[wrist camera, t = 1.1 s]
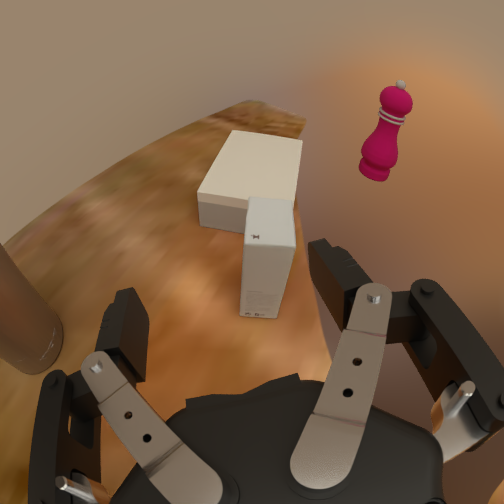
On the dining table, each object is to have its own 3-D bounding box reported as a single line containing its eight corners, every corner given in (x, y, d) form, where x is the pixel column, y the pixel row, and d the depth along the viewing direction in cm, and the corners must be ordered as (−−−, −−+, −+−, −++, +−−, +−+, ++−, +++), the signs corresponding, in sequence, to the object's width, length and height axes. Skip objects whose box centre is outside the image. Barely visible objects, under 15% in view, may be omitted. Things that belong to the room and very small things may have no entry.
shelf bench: (200, 225, 40) (197, 191, 36) (232, 158, 52) (232, 130, 47) (286, 241, 39) (293, 208, 35) (297, 169, 51) (302, 140, 46)
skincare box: (277, 319, 32) (297, 248, 23) (238, 317, 32) (242, 244, 23) (277, 275, 36) (293, 198, 27) (242, 272, 36) (247, 194, 26)
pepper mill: (356, 158, 56) (380, 69, 40) (388, 169, 54) (417, 83, 39) (355, 176, 51) (383, 77, 36) (390, 187, 50) (425, 93, 35)
